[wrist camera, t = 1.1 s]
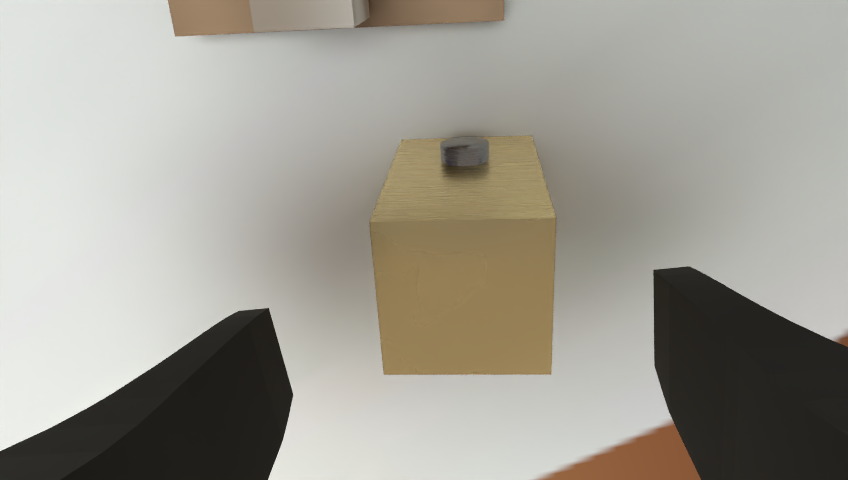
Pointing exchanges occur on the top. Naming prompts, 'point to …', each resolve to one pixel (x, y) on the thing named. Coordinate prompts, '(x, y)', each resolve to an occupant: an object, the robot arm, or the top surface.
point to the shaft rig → (321, 14)
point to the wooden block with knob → (465, 258)
